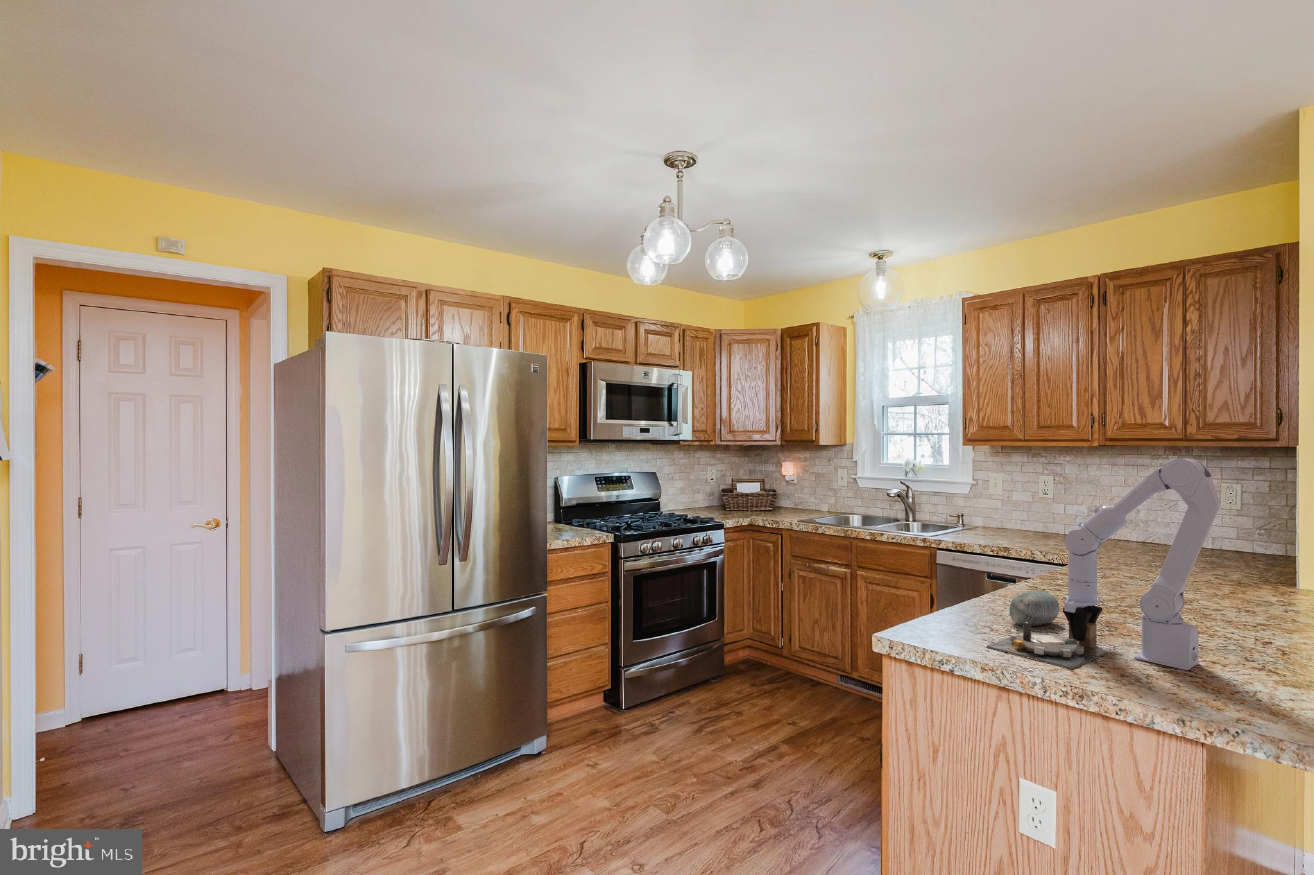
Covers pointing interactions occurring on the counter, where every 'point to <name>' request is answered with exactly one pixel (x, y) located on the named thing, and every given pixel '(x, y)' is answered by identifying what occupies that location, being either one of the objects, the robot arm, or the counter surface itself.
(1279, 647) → the counter surface
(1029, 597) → the grey oval stone
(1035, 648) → the sprocket
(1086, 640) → the link block
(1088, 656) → the plate
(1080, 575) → the robot arm
